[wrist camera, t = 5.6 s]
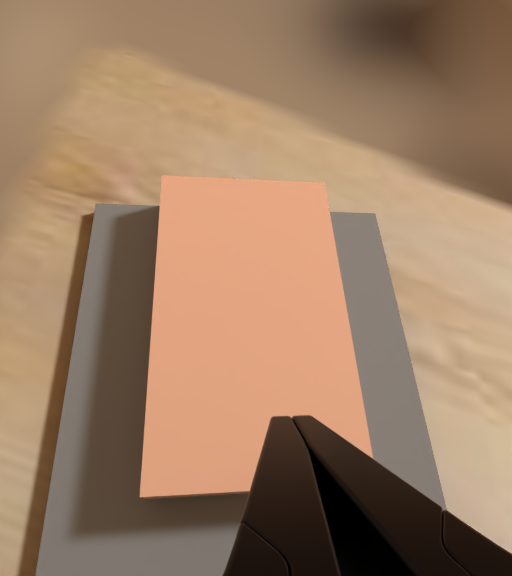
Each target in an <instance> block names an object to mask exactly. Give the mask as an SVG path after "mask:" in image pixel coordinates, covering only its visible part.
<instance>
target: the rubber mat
mask: <svg viewBox="0 0 512 576" xmlns="http://www.w3.org/2000/svg"><path fill="white" fill-rule="evenodd" d="M159 210H160V206H146V205H118V204H96V206H95V212H94V218H93V224H92V230H91V237H90V243H89V249H88V255H87V261H86V267H85V273H84V280H83V286H82V292H81V298H80V304H79V310H78V316H77V323H76V329H75V335H74V341H73V347H72V353H71V359H70V365H69V372H68V378H67V384H66V390H65V396H64V402H63V408H62V415H61V421H60V427H59V433H58V439H57V445H56V451H55V458H54V464H53V470H52V476H51V482H50V488H49V494H48V500H47V507H46V513H45V519H44V525H43V531H42V537H41V543H40V550H39V556H38V562H37V568H36V574H35V576H222V575H223V573H224V571H225V568H226V565H227V562H228V559H229V556H230V554H231V551H232V548H233V545H234V542H235V538H236V535H237V531H238V528H239V525H240V522H241V519H242V515H243V512H244V508H245V505H246V502H247V498H248V495H249V493H244V494H227V495H209V496H192V497H174V498H156V499H144V498H140V485H141V470H142V456H143V441H144V427H145V412H146V398H147V383H148V369H149V355H150V340H151V326H152V311H153V297H154V282H155V268H156V254H157V239H158V225H159ZM330 216H331V222H332V228H333V233H334V239H335V245H336V250H337V256H338V262H339V267H340V273H341V279H342V284H343V290H344V296H345V301H346V307H347V313H348V318H349V324H350V329H351V335H352V341H353V346H354V352H355V358H356V363H357V369H358V375H359V380H360V386H361V392H362V397H363V403H364V409H365V414H366V420H367V426H368V431H369V437H370V443H371V448H372V454H373V459H374V460H376V461H377V462H378V463H380V464H381V465H383V466H384V467H386V468H387V469H388V470H390V471H391V472H393V473H394V474H396V475H397V476H398V477H400V478H401V479H403V480H404V481H405V482H407V483H408V484H410V485H411V486H413V487H414V488H415V489H417V490H418V491H420V492H421V493H423V494H424V495H425V496H427V497H428V498H430V499H431V500H433V501H434V502H435V503H437V504H438V505H440V506H441V507H442V508H443V511H444V510H447V509H446V505H445V501H444V496H443V492H442V488H441V484H440V480H439V476H438V472H437V468H436V463H435V459H434V455H433V451H432V447H431V443H430V439H429V434H428V430H427V426H426V422H425V418H424V414H423V410H422V405H421V401H420V397H419V393H418V389H417V385H416V381H415V376H414V372H413V368H412V364H411V360H410V356H409V352H408V348H407V343H406V339H405V335H404V331H403V327H402V323H401V319H400V314H399V310H398V306H397V302H396V298H395V294H394V290H393V285H392V281H391V277H390V273H389V269H388V265H387V261H386V256H385V252H384V248H383V244H382V240H381V236H380V232H379V227H378V223H377V219H376V215H375V214H372V213H344V212H330Z"/></svg>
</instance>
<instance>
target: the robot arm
mask: <svg viewBox="0 0 512 576" xmlns="http://www.w3.org/2000/svg"><path fill="white" fill-rule="evenodd" d="M222 576H512V554H511V553H510V552H508V551H506V550H505V549H503V548H502V547H500V546H498V545H497V544H495V543H494V542H492V541H491V540H489V539H488V538H486V537H485V536H483V535H482V534H481V533H479V532H478V531H476V530H475V529H473V528H472V527H470V526H469V525H467V524H466V523H464V522H463V521H461V520H460V519H459V518H457V517H456V516H454V515H453V514H451V513H450V512H449V511H447V510H444V511H443V508H442V507H441V506H440V505H438V504H437V503H435V502H434V501H433V500H431V499H430V498H428V497H427V496H425V495H424V494H423V493H421V492H420V491H418V490H417V489H415V488H414V487H413V486H411V485H410V484H408V483H407V482H405V481H404V480H403V479H401V478H400V477H398V476H397V475H396V474H394V473H393V472H391V471H390V470H388V469H387V468H386V467H384V466H383V465H381V464H380V463H378V462H377V461H376V460H374V459H373V458H371V457H370V456H368V455H367V454H366V453H364V452H363V451H361V450H360V449H358V448H357V447H356V446H354V445H353V444H351V443H350V442H348V441H347V440H346V439H344V438H343V437H341V436H340V435H338V434H337V433H336V432H334V431H333V430H331V429H330V428H328V427H327V426H326V425H324V424H323V423H321V422H320V421H318V420H317V419H316V418H314V417H313V416H311V415H296V416H293V417H292V418H291V417H290V416H273V417H271V419H270V422H269V426H268V429H267V433H266V436H265V440H264V443H263V446H262V450H261V453H260V457H259V460H258V464H257V467H256V471H255V474H254V477H253V481H252V484H251V488H250V491H249V495H248V498H247V502H246V505H245V508H244V512H243V515H242V519H241V522H240V525H239V528H238V531H237V535H236V538H235V542H234V545H233V548H232V551H231V554H230V556H229V559H228V562H227V565H226V568H225V571H224V573H223V575H222Z"/></svg>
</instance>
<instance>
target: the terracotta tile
mask: <svg viewBox="0 0 512 576" xmlns="http://www.w3.org/2000/svg"><path fill="white" fill-rule="evenodd" d="M296 415H311V416H313V417H314V418H316V419H317V420H318V421H320V422H321V423H323V424H324V425H326V426H327V427H328V428H330V429H331V430H333V431H334V432H336V433H337V434H338V435H340V436H341V437H343V438H344V439H346V440H347V441H348V442H350V443H351V444H353V445H354V446H356V447H357V448H358V449H360V450H361V451H363V452H364V453H366V454H367V455H368V456H370V457H371V458H373V454H372V448H371V443H370V437H369V431H368V426H367V420H366V414H365V409H364V403H363V397H362V392H361V386H360V380H359V375H358V369H357V363H356V358H355V352H354V346H353V341H352V335H351V329H350V324H349V318H348V313H347V307H346V301H345V296H344V290H343V284H342V279H341V273H340V267H339V262H338V256H337V250H336V245H335V239H334V233H333V228H332V222H331V216H330V211H329V205H328V199H327V194H326V188H325V183H317V182H295V181H273V180H251V179H229V178H207V177H184V176H162V181H161V196H160V210H159V225H158V239H157V254H156V268H155V282H154V297H153V311H152V326H151V340H150V355H149V369H148V383H147V398H146V412H145V427H144V441H143V456H142V470H141V485H140V498H144V499H156V498H174V497H192V496H209V495H227V494H244V493H249V491H250V488H251V484H252V481H253V477H254V474H255V471H256V467H257V464H258V460H259V457H260V453H261V450H262V446H263V443H264V440H265V436H266V433H267V429H268V426H269V422H270V419H271V417H273V416H290V417H291V418H292V417H293V416H296Z"/></svg>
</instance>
